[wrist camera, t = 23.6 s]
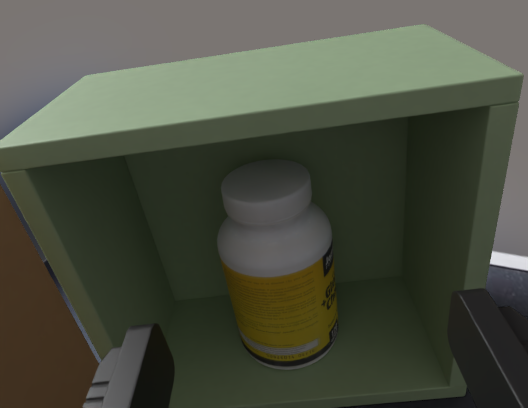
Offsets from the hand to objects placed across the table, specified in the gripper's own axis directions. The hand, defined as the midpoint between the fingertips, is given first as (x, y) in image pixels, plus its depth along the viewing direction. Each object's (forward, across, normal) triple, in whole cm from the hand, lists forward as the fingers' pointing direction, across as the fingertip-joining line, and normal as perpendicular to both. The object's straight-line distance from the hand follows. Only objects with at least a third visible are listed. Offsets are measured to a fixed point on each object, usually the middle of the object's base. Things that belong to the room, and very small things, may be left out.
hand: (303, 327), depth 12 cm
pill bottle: (+11, +1, +13) cm, 17 cm away
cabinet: (+11, +1, +14) cm, 18 cm away
